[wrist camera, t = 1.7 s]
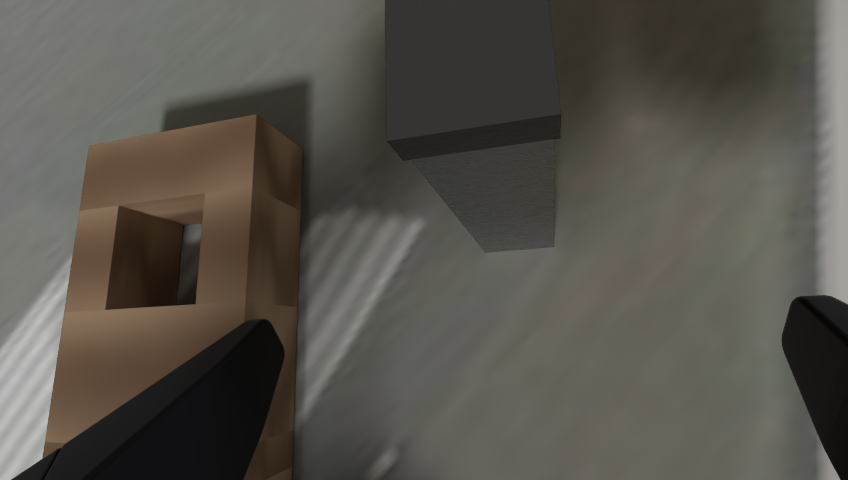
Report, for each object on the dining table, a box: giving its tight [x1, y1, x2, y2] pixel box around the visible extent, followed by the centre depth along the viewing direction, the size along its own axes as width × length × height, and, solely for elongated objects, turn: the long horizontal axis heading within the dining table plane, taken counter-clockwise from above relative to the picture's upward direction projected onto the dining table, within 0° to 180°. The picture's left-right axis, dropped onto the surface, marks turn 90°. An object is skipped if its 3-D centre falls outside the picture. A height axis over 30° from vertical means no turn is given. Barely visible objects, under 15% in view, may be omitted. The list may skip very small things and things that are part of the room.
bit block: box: [43, 114, 303, 480], centre depth 21 cm, size 20×10×4 cm, turn 2°
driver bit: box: [385, 0, 561, 252], centre depth 14 cm, size 3×3×12 cm
